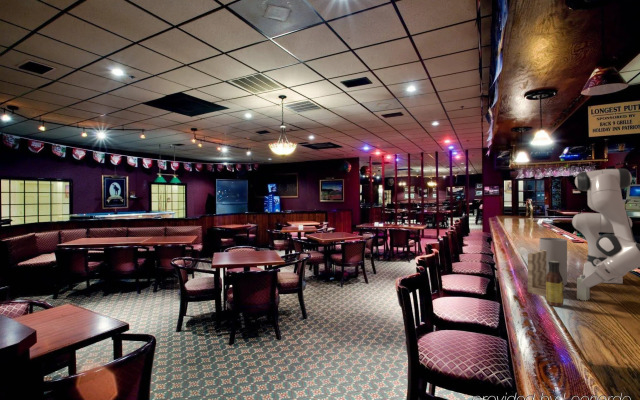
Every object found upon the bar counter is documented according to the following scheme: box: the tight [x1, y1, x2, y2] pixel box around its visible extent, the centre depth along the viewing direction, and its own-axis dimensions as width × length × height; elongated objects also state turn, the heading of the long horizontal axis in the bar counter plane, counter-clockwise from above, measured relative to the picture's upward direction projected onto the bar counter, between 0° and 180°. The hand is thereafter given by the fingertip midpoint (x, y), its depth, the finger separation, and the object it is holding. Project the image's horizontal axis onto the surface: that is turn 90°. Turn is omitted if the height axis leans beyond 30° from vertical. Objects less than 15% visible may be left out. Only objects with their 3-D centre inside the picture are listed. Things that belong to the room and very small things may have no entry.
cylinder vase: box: [539, 237, 568, 286], centre depth 177 cm, size 12×12×25 cm
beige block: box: [576, 274, 591, 302], centre depth 150 cm, size 5×4×12 cm
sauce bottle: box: [545, 261, 564, 307], centre depth 143 cm, size 7×6×20 cm
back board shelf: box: [527, 249, 565, 297], centre depth 162 cm, size 18×10×20 cm, turn 125°
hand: (581, 286), depth 151 cm, fingers open, 8 cm apart
